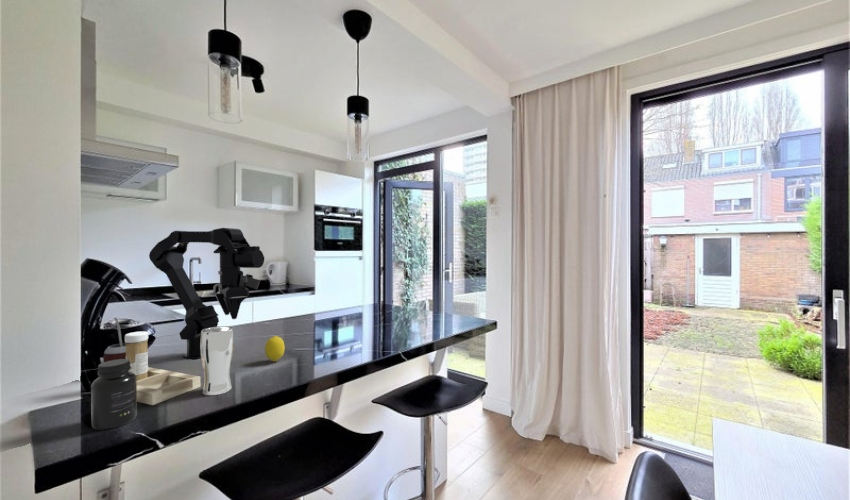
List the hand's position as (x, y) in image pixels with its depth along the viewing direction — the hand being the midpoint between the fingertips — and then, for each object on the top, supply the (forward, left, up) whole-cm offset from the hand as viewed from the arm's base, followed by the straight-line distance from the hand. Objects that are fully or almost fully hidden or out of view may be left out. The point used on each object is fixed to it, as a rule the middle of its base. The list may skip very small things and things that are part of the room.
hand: (230, 316), depth 110 cm
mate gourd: (-17, -21, -13) cm, 30 cm away
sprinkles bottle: (-2, -25, -13) cm, 28 cm away
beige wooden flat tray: (+3, -25, -13) cm, 28 cm away
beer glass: (+19, -20, -13) cm, 30 cm away
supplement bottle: (+14, -38, -13) cm, 43 cm away
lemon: (+16, +2, -13) cm, 21 cm away
